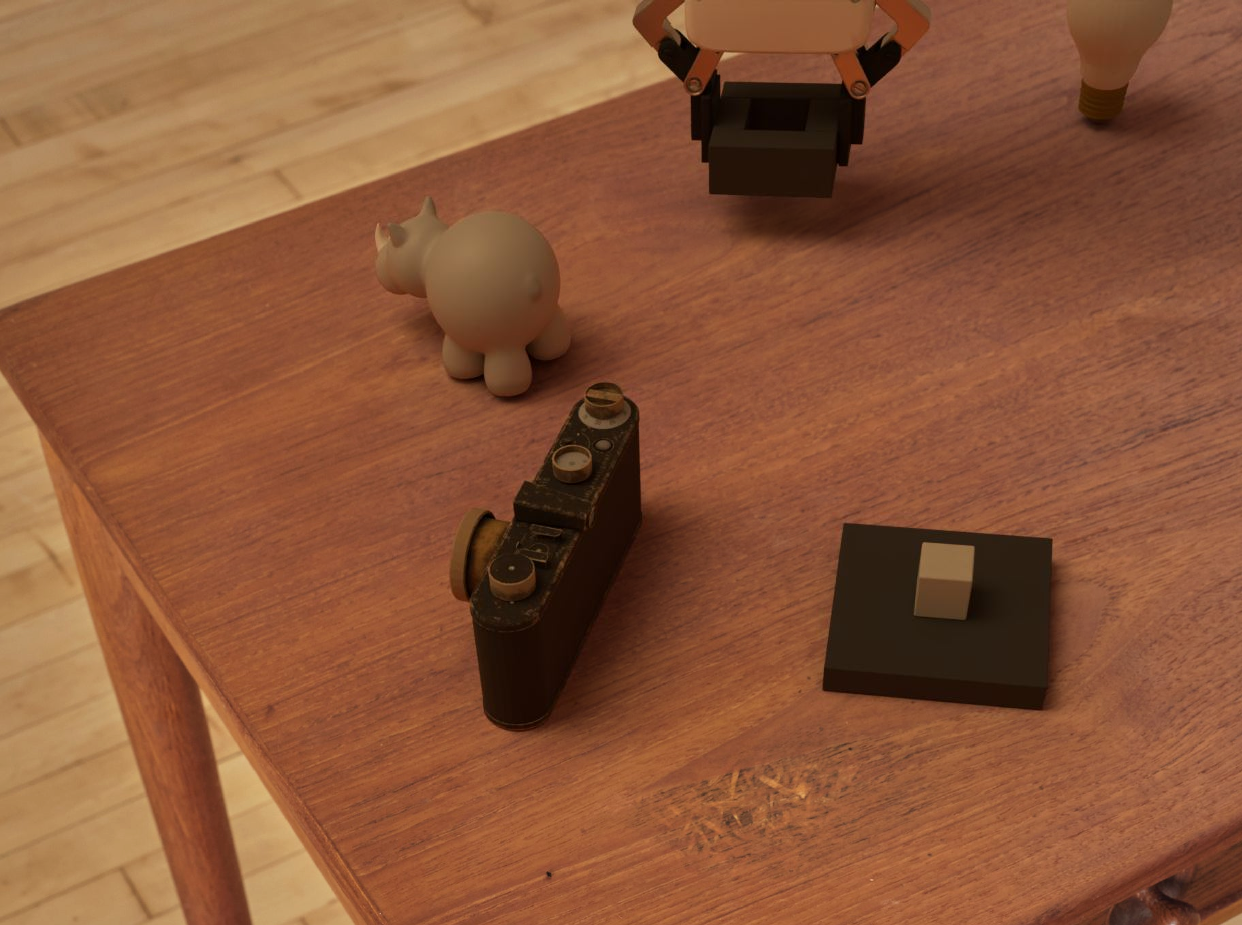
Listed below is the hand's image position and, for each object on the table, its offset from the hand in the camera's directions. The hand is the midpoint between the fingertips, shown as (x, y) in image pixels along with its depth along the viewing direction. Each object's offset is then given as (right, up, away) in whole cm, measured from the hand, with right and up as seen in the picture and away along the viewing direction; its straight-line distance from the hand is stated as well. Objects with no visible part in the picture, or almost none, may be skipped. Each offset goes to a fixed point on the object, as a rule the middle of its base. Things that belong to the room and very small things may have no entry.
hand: (776, 150), depth 104 cm
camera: (-13, -29, -16) cm, 36 cm away
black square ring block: (0, -1, +1) cm, 1 cm away
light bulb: (+21, +5, +7) cm, 22 cm away
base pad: (+5, -30, -18) cm, 36 cm away
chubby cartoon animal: (-18, -12, -3) cm, 22 cm away
